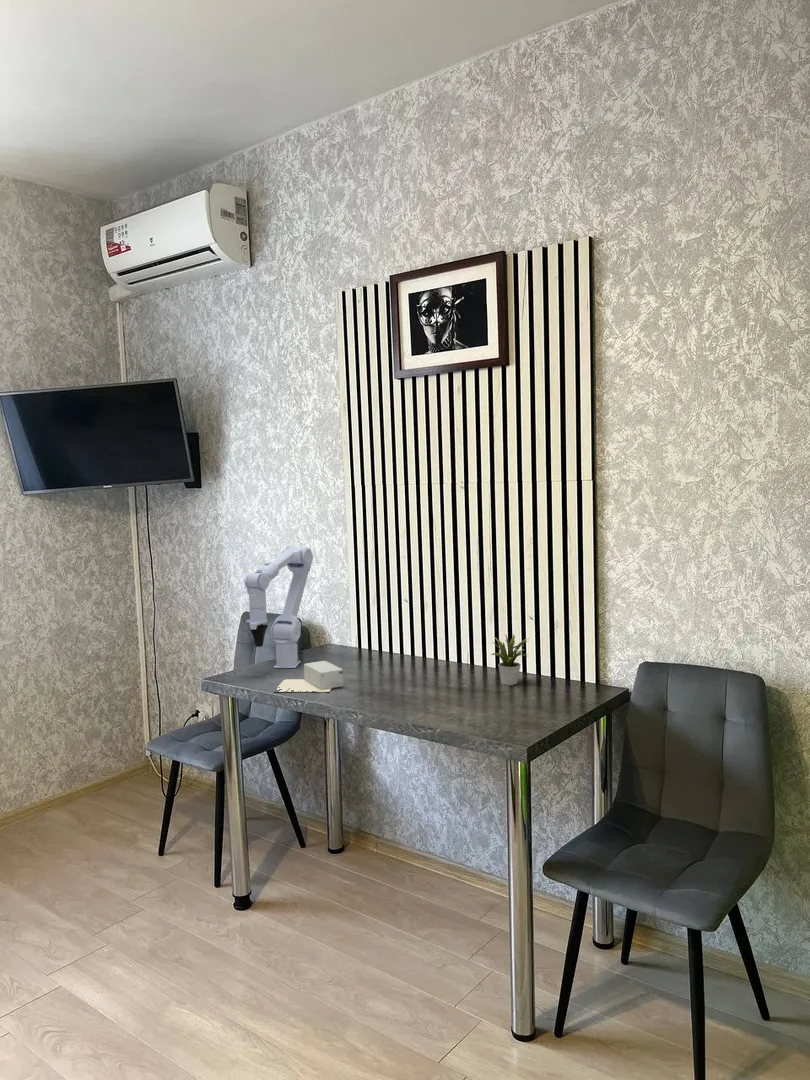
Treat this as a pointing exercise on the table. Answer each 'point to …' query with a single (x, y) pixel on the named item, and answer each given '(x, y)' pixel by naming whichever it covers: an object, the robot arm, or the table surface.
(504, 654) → the house plant
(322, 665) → the skincare box
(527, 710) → the table surface
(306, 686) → the mat
